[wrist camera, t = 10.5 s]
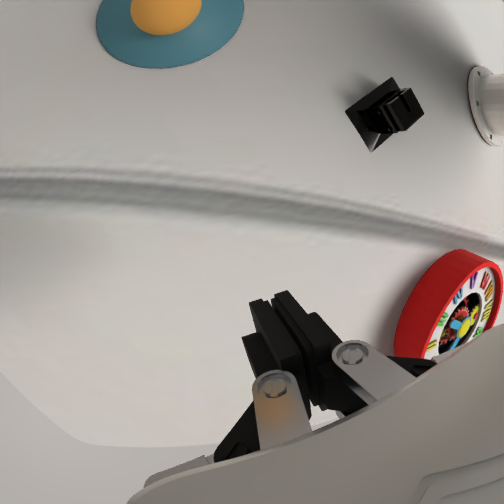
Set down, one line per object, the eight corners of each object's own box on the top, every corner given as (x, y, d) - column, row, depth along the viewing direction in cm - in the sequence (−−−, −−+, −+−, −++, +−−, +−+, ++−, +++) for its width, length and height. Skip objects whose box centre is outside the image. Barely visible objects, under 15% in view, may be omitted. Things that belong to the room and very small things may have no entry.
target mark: (227, -46, 16) (228, -47, 16) (258, 52, 20) (258, 52, 20) (93, -18, 14) (93, -19, 14) (105, 88, 18) (104, 88, 18)
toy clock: (513, 282, 32) (456, 387, 35) (489, 271, 37) (436, 370, 41) (473, 238, 25) (392, 389, 29) (438, 226, 31) (368, 363, 34)
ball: (212, 34, 18) (193, 1, 18) (209, -14, 12) (188, -42, 12) (145, 57, 17) (134, 21, 17) (127, 12, 12) (119, -20, 12)
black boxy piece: (393, 62, 24) (421, 54, 19) (424, 117, 26) (453, 115, 22) (319, 113, 24) (345, 106, 19) (359, 176, 26) (388, 180, 22)
